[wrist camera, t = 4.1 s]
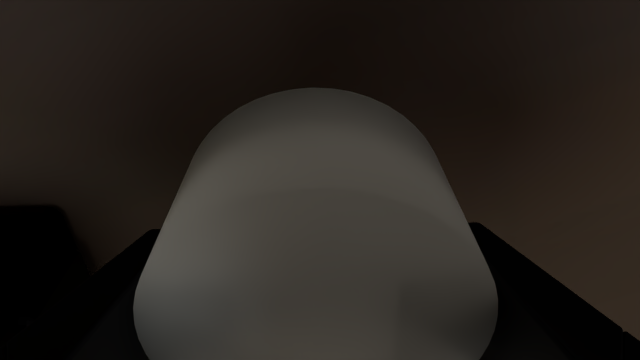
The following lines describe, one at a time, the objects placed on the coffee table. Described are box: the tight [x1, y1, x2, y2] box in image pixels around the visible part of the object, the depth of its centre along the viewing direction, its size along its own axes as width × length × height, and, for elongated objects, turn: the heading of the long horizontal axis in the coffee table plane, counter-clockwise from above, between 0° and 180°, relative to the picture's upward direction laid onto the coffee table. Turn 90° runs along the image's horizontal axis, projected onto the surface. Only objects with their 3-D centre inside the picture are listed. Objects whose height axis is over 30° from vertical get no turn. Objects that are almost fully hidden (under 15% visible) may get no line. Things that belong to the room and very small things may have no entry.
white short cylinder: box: [133, 88, 498, 360], centre depth 9 cm, size 6×6×4 cm
